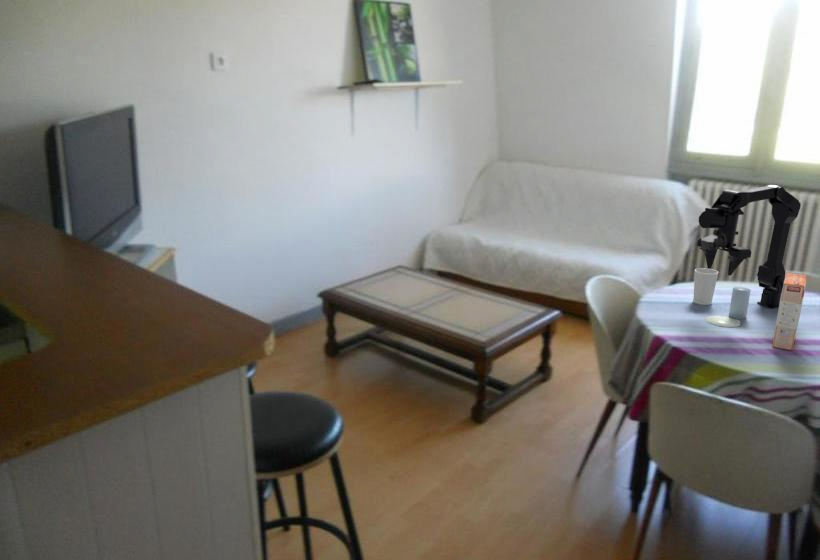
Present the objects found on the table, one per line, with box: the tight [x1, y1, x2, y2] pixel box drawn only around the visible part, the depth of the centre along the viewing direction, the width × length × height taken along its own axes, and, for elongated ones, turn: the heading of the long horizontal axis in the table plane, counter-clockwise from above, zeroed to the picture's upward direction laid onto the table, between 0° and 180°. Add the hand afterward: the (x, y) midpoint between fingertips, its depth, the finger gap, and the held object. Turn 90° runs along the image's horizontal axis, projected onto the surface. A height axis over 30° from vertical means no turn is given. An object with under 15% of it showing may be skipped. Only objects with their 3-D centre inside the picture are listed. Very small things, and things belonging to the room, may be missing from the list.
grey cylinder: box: [728, 286, 751, 320], centre depth 227 cm, size 6×6×10 cm
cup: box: [692, 267, 719, 306], centre depth 242 cm, size 8×8×12 cm
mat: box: [704, 315, 741, 328], centre depth 224 cm, size 11×11×1 cm
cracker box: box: [772, 272, 807, 352], centre depth 203 cm, size 14×6×21 cm, turn 148°
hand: (719, 271), depth 227 cm, fingers open, 9 cm apart
